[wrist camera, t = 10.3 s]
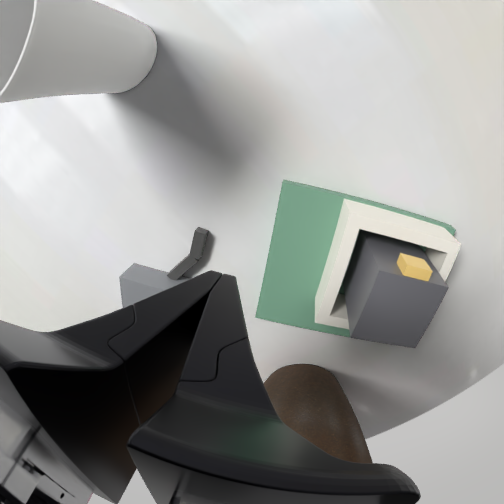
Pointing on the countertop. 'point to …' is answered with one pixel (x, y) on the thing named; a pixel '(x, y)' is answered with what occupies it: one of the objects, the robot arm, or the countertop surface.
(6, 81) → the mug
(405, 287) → the plug
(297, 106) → the countertop surface
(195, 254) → the gray button block
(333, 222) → the board
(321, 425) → the plant pot
